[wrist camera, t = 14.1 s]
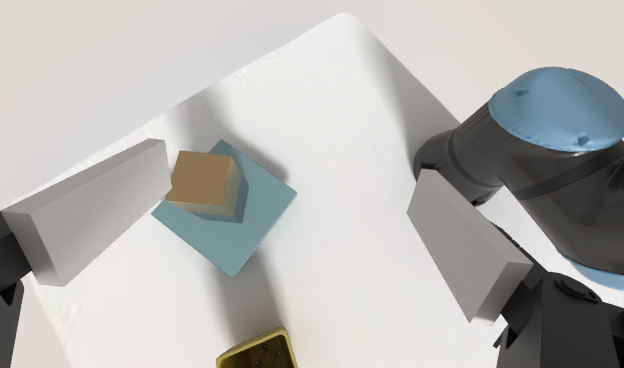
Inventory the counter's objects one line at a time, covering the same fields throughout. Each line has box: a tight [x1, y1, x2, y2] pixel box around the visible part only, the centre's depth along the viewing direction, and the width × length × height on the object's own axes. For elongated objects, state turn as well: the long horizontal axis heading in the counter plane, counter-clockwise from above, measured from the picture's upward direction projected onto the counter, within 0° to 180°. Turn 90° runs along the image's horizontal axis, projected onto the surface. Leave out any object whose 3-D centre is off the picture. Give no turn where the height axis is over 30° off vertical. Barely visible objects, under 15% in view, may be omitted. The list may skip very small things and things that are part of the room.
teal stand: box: [151, 139, 297, 278], centre depth 42 cm, size 16×16×4 cm
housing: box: [166, 151, 249, 224], centre depth 34 cm, size 6×6×12 cm
